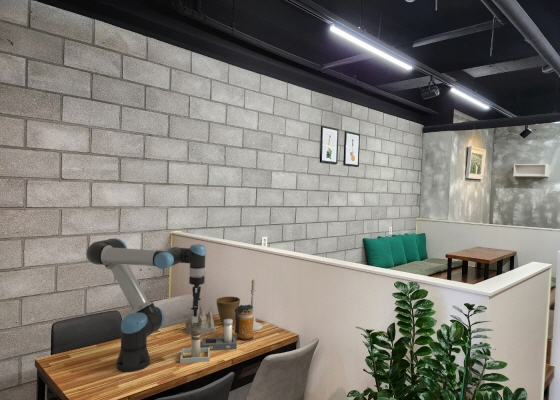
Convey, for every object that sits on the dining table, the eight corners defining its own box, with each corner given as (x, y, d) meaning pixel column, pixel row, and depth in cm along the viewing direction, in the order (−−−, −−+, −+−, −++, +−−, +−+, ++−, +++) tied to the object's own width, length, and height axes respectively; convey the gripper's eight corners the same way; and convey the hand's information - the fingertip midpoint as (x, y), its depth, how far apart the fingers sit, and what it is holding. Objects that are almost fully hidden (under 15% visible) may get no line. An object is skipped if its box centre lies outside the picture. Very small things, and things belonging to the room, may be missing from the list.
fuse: (223, 347, 202) (223, 321, 202) (223, 344, 207) (223, 318, 207) (232, 347, 203) (232, 321, 203) (231, 343, 208) (232, 318, 208)
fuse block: (201, 352, 198) (202, 345, 198) (202, 345, 208) (202, 337, 208) (236, 351, 201) (236, 343, 201) (235, 343, 211) (235, 336, 211)
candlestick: (248, 332, 229) (249, 282, 228) (238, 325, 239) (239, 278, 239) (266, 328, 236) (267, 280, 235) (256, 322, 246) (257, 276, 246)
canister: (255, 341, 215) (256, 306, 214) (236, 343, 210) (237, 308, 210) (250, 335, 223) (251, 302, 222) (232, 338, 219) (233, 303, 218)
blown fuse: (190, 360, 188) (190, 331, 187) (190, 355, 192) (191, 328, 192) (200, 359, 188) (200, 331, 188) (200, 355, 193) (201, 328, 193)
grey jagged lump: (219, 330, 229) (218, 306, 229) (197, 339, 217) (196, 313, 217) (204, 326, 239) (202, 302, 239) (181, 333, 227) (180, 308, 227)
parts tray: (180, 365, 183) (180, 358, 183) (182, 354, 195) (182, 348, 195) (209, 363, 186) (209, 357, 186) (209, 353, 198) (209, 347, 198)
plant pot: (231, 319, 251) (231, 295, 251) (244, 325, 240) (244, 300, 240) (211, 323, 242) (212, 298, 242) (223, 330, 230) (224, 304, 230)
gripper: (204, 281, 178) (202, 326, 178) (205, 270, 203) (203, 309, 203) (187, 281, 177) (186, 326, 177) (190, 270, 201) (189, 310, 202)
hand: (195, 317), depth 190 cm, fingers open, 13 cm apart
